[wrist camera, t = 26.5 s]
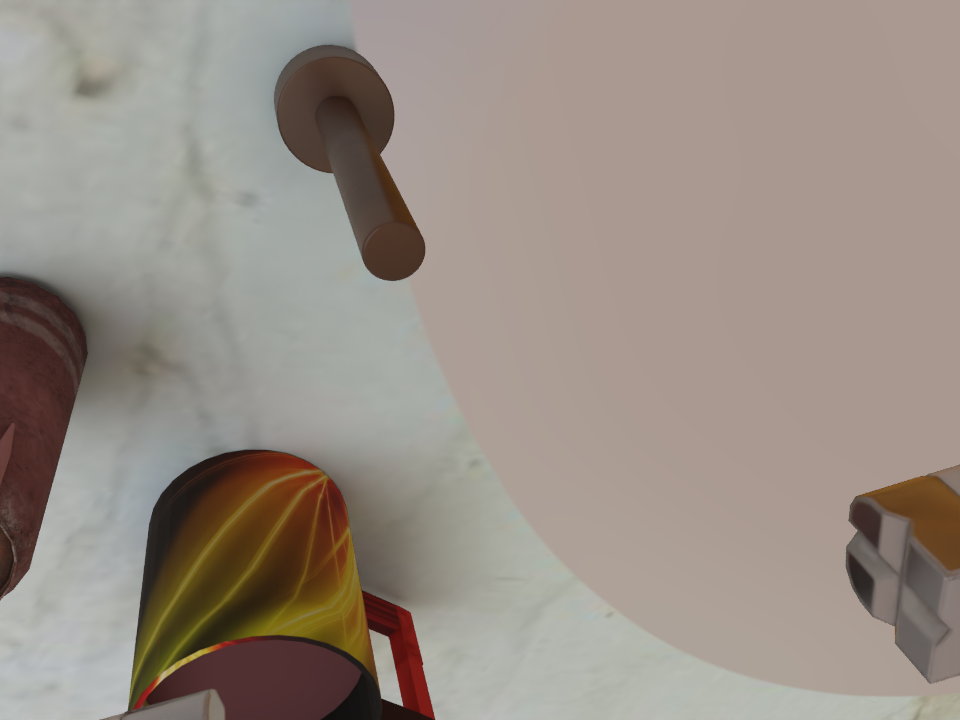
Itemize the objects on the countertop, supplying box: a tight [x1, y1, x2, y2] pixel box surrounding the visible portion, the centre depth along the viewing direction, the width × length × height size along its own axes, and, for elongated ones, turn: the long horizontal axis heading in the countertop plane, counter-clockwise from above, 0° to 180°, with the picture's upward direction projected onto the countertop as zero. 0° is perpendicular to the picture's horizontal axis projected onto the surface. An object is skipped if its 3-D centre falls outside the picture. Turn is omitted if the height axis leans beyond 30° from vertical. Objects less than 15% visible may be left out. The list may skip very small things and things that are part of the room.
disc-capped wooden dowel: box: [274, 45, 425, 281], centre depth 29 cm, size 4×4×16 cm
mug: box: [128, 450, 435, 720], centre depth 41 cm, size 10×14×12 cm
